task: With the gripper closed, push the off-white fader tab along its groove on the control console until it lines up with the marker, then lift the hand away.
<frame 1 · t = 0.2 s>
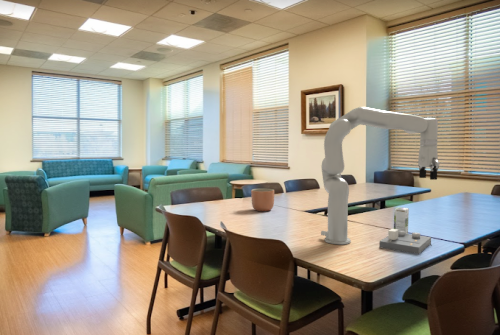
hand: (427, 178, 176), 31 cm above the table, tool pointing down, fingers open, 9 cm apart
fader tab: (393, 234, 169), point 5 cm above the table, slide at 0.0 cm
planter: (262, 210, 266), on the table
syrup box: (400, 235, 188), on the table
control console: (405, 245, 169), on the table
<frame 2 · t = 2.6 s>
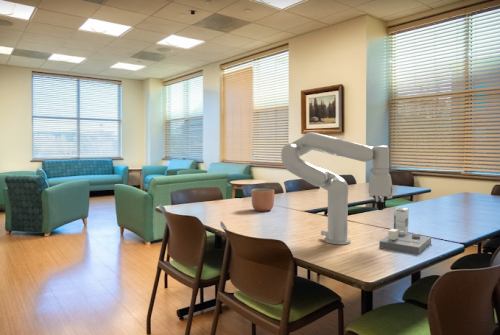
hand: (380, 209, 172), 16 cm above the table, tool pointing down, fingers closed
nothing on the table moved.
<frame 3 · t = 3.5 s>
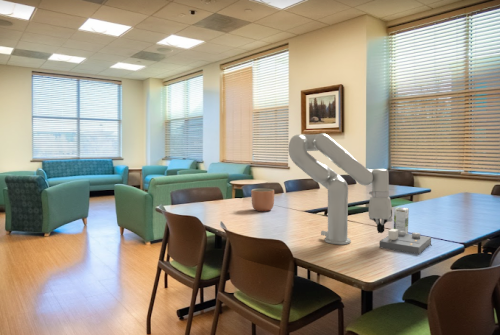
hand: (380, 232, 173), 5 cm above the table, tool pointing down, fingers closed
nothing on the table moved.
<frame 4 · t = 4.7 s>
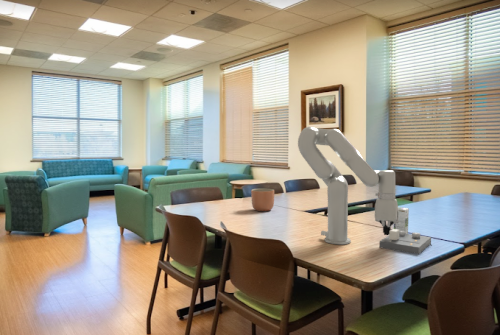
hand: (386, 234, 171), 5 cm above the table, tool pointing down, fingers closed
fader tab: (394, 234, 169), point 5 cm above the table, slide at 0.5 cm, touching gripper
everything else where it was.
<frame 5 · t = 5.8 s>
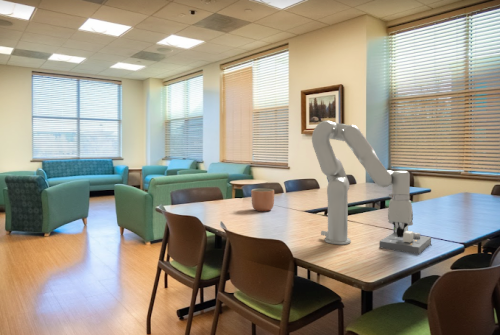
hand: (400, 236, 167), 5 cm above the table, tool pointing down, fingers closed
fader tab: (408, 236, 165), point 5 cm above the table, slide at 6.7 cm, touching gripper
everything else where it was.
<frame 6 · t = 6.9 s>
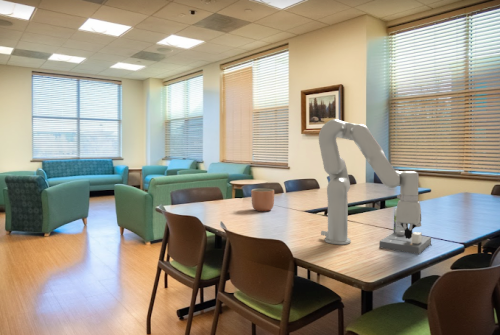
hand: (408, 237, 165), 5 cm above the table, tool pointing down, fingers closed
fader tab: (416, 237, 162), point 5 cm above the table, slide at 10.3 cm, touching gripper
everything else where it was.
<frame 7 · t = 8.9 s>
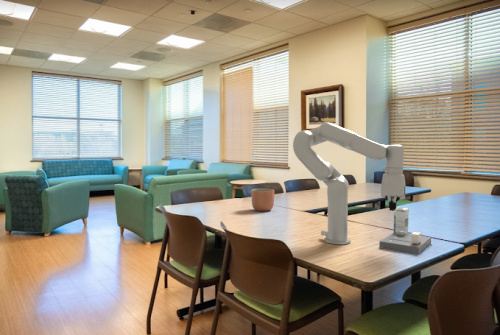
hand: (392, 210, 168), 17 cm above the table, tool pointing down, fingers closed
fader tab: (416, 237, 162), point 5 cm above the table, slide at 10.1 cm
everything else where it was.
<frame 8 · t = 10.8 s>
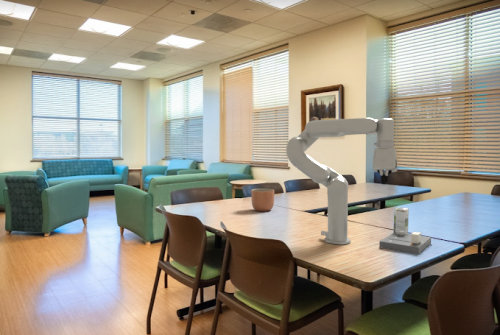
hand: (384, 183, 169), 29 cm above the table, tool pointing down, fingers closed
nothing on the table moved.
at the end: fader tab slide at 10.1 cm; syrup box moved 0.2 cm from its start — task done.
